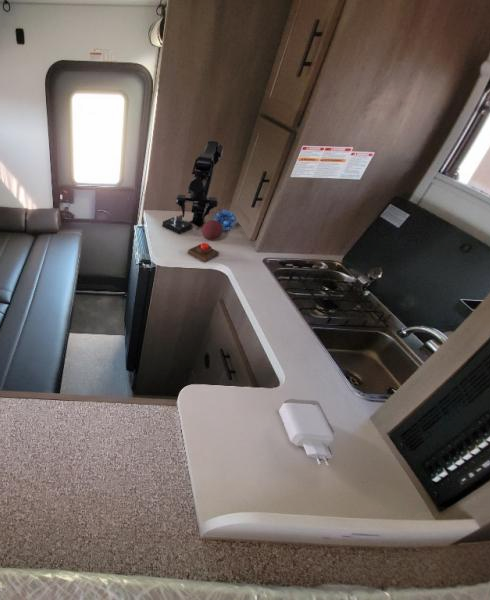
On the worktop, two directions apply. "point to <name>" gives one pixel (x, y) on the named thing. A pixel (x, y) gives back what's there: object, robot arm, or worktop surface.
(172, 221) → the dial panel
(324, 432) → the charger
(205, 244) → the power button
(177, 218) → the dial
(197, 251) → the block
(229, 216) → the blue bumpy cluster
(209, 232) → the decorative ball
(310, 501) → the worktop surface
